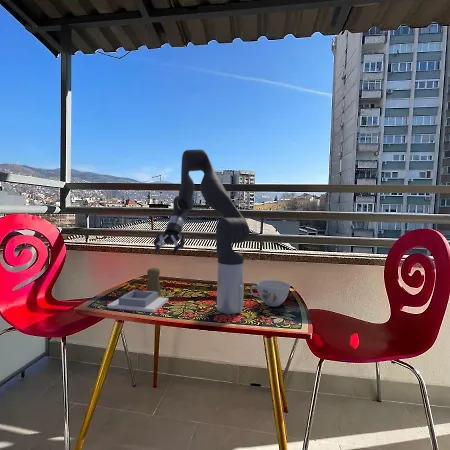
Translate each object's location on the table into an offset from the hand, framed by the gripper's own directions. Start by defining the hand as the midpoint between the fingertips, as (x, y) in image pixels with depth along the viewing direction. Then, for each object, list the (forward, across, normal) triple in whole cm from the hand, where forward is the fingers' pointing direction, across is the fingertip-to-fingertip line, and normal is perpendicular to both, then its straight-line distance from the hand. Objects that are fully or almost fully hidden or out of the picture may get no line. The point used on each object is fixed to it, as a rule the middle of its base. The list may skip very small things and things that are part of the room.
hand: (165, 253), depth 126 cm
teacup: (+18, +48, +3) cm, 52 cm away
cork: (+19, 0, +3) cm, 19 cm away
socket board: (+28, 0, -6) cm, 28 cm away
